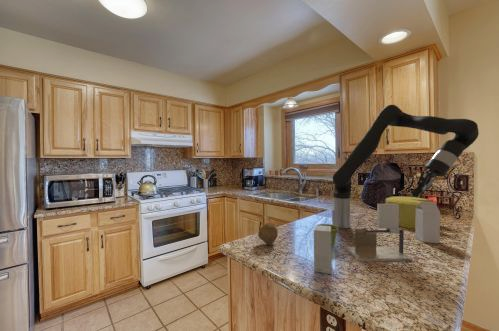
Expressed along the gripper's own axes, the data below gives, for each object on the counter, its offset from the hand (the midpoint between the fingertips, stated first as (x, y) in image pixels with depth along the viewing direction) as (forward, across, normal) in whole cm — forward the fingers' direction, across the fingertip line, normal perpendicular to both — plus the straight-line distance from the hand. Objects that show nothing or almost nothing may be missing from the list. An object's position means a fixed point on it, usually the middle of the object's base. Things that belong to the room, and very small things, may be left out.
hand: (414, 195), depth 97 cm
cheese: (+6, +58, +9) cm, 59 cm away
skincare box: (+44, -28, 0) cm, 52 cm away
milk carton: (+11, +29, -8) cm, 32 cm away
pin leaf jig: (+30, -4, -4) cm, 30 cm away
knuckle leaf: (+19, -5, -2) cm, 20 cm away
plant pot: (+40, -8, +12) cm, 43 cm away
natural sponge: (+56, -25, +27) cm, 67 cm away
